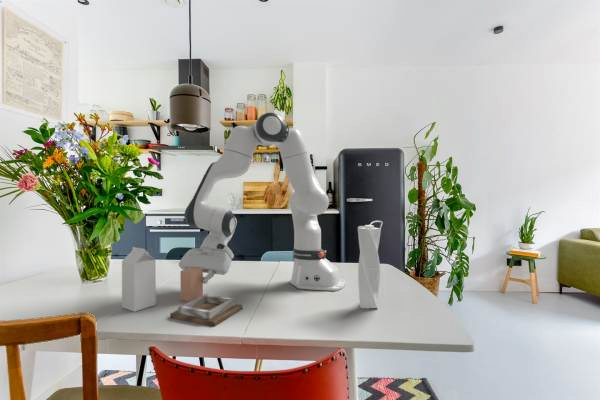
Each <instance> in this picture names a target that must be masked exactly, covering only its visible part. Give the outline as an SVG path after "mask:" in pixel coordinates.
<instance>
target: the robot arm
mask: <svg viewBox="0 0 600 400" xmlns="http://www.w3.org/2000/svg"><path fill="white" fill-rule="evenodd" d="M273 145H274V146H275V147H277V149H278V152H279V153H280V157H281V161H282V163H283V168H284V172H285V175H286V179H287V180H288V182H289V183H290V185H291V187H292V189H293V191H294V192H292V193H291V195H290V197H289V200H288V204H289V206H290V211H291V216H292V218H291V219H292V222H293V231H294V232H293V233H294V236H293V239H294V240H293V242H294V243H293V244H294V246H293V249H292V251H293V252H292V261H293V267H292V274H291V279H290V280H289V281H290V282H289V283H290V284H291V285H292V286H295V287H296V288H297V289H301V290H314V291H327V292H328V291H333V292H334V291H339V290H342V289H343V288H344V287H345V286H346V280H345V279H342V278H340V277H341V276H340V271H339V269H338V267H337V266H336V265H335V264H333V263H332V262H331V261H330V260H328V259H327V258H326V255H327V254H326V253H327V250H324V249H323V248H322V229H321V226H320V225H319V221H318V216H320V215H322V214H323V213H325V212H326V211H327V209H328V207H329V206H330V199H329V197H328V194H327V193H326V192H325V191H324V189H323V188H322V186H321V183H320V182H319V180H318V178H317V176H316V173H315V172H314V171H315V170H314V168H313V165H312V161H311V157H310V154H309V150H308V147H307V145H306V141H305V139H304V137H303V135H302V133H301V131H300V130H299V129H297V128H294V127H291V128H290V127H289V126H288V124H287V123H286V122H285V121H284V119H283V118H282V117H281V116H280V115H278V114H277V113H274V112H265V113H263V114H261V115H260V116H259V117H258V118H257V119H256V121H255V122H254V124H253V125H252V126H250V127H248V126H246V125H237V126H234V127H233V129H232V130H231V131H230V134H229V136H228V138H227V139H226V142H225V146H224V149H223V151H222V154H221V156H220V157H219V158H217V160H216V161H214V162H212V163H210V164H209V166H208V168H207V169H206V171H205V173H204V175H203V177H202V179H201V181H200V183H199V185H198V186H197V189H196V191H195V193H194V195H193V197H192V198H191V200H190V202H189V203H188V205H187V206H186V208H185V211H184V212H183V213H184V214H183V215H184V217H183V218H184V221H185V222H186V224H187V225H188V226H189V227H191V228H195V229H202V230H206V231H208V232H209V233H208V234H207V236H205V237H204V239H203V241H202V243H201V245H200V247H198V248H197V247H193V248H191V249H189V250H187V252H186V253H184V255H183V256H182V258H181V259H180V261H179V262H178V267H179V268H180V269H181V271H182V270H186V269H189V268H192V267H195V268H203V274H204V273H205V274H206V273H207V274H206V275H205V276H203V278H202V280H201V282H202V283H203V285H205V284H206V285H207V284H208V282H209V280H211V279H212V278H213V277H215V275H222V276H224V275H225V274H227V273H228V272H229V270H230V267H231V265H232V262H233V261H232V260H233V259H234V257H235V255H234V253H233V251H232V249H230V248H229V247H228V243H229V241H231V239H232V237H233V235H234V233H235V230H236V228H237V223H238V220H237V218H236V217H235V215H234V213H233V212H232V210H230V209H227V208H224V207H222V206H216V205H214V204H209V203H207V201H208V198H209V196H210V194H211V192H212V190H213V188H214V186H215V184H216V183H217V182H219V181H221V180H224V179H225V180H226V179H234V178H239V177H241V176H244V175H245V174H246V173H247V172H248V171H249V169H250V166H251V163H252V160H253V158H254V157H253V156H254V153H255V150H256V148H257V147H260V148H267V147H270V146H273Z"/></svg>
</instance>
